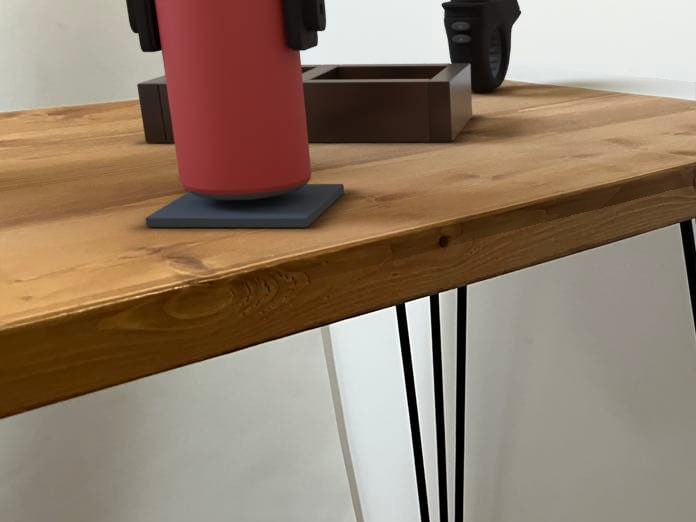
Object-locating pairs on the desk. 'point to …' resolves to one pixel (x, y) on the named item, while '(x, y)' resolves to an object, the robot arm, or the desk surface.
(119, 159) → the desk surface
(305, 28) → the robot arm
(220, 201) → the coaster
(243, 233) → the desk surface
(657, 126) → the desk surface
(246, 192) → the beer can
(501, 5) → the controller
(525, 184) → the desk surface
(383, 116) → the divided wooden tray
